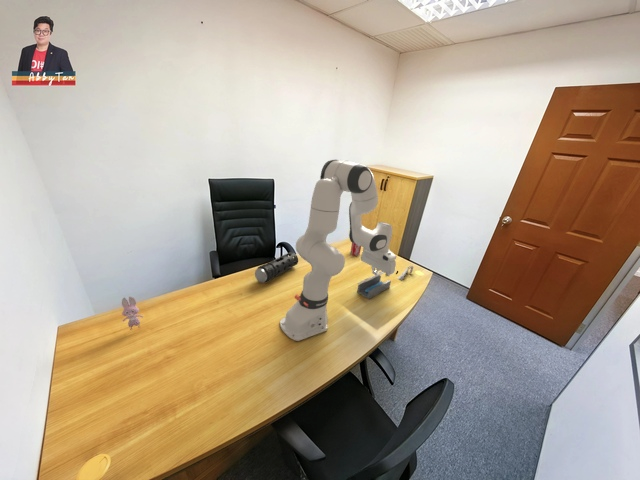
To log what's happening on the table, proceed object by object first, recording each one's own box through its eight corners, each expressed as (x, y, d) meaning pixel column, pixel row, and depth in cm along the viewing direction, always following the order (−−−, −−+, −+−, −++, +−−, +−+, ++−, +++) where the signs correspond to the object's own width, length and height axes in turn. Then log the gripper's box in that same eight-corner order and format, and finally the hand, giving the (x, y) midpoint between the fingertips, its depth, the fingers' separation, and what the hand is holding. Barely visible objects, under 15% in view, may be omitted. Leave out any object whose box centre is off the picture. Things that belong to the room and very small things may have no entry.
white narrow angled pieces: (392, 266, 161) (393, 260, 159) (411, 273, 154) (413, 266, 153) (385, 275, 149) (386, 268, 147) (406, 282, 143) (407, 275, 141)
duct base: (368, 299, 122) (370, 292, 120) (357, 292, 127) (358, 285, 126) (389, 287, 135) (391, 280, 133) (378, 281, 140) (379, 274, 138)
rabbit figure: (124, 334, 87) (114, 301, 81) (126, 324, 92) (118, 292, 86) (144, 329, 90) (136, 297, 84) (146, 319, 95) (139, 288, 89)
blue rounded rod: (366, 293, 125) (367, 290, 124) (364, 291, 126) (364, 289, 126) (383, 284, 135) (383, 281, 134) (380, 283, 136) (381, 280, 136)
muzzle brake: (298, 268, 145) (299, 254, 142) (266, 288, 123) (266, 271, 119) (286, 264, 150) (287, 249, 146) (253, 281, 127) (253, 265, 124)
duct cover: (368, 280, 119) (367, 278, 120) (358, 284, 126) (357, 282, 126) (389, 270, 132) (389, 268, 133) (379, 274, 138) (378, 272, 139)
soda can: (361, 255, 172) (364, 240, 168) (356, 258, 167) (358, 243, 163) (353, 252, 176) (356, 237, 172) (348, 254, 172) (350, 239, 167)
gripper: (360, 246, 128) (356, 267, 133) (392, 260, 115) (387, 284, 120) (367, 243, 132) (363, 265, 137) (399, 257, 119) (393, 280, 124)
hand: (374, 274), depth 128 cm, fingers closed
